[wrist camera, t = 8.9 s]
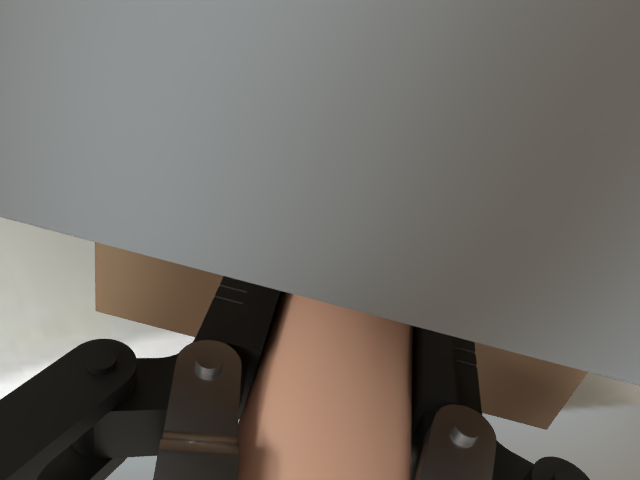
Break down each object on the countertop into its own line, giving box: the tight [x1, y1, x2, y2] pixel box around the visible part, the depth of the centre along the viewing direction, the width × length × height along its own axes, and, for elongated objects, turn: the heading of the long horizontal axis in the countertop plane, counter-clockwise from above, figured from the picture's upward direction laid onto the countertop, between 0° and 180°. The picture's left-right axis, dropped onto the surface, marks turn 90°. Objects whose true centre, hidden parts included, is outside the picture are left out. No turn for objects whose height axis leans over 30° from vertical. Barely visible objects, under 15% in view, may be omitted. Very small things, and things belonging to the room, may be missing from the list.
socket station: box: [0, 0, 640, 429], centre depth 12 cm, size 14×14×12 cm
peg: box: [237, 291, 413, 480], centre depth 13 cm, size 3×3×10 cm
